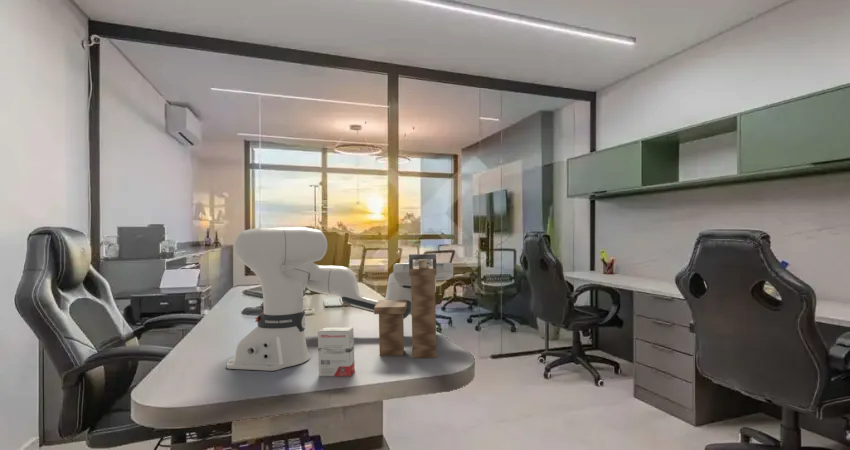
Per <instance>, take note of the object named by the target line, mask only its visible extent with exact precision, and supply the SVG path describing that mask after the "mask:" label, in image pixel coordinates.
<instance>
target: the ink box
mask: <svg viewBox="0 0 850 450" xmlns="http://www.w3.org/2000/svg"><path fill="white" fill-rule="evenodd" d="M354 334H355V333H354V326H353V327H349V326H348V327H323V328H321V329H320V330H318V331H317V351H318V352H317V355H318V357H317V358H318V376H319V377H351V376H352V375H353V373H354V372H355V371H356V369H355V338H354V336H355V335H354Z"/></svg>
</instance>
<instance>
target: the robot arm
mask: <svg viewBox="0 0 850 450" xmlns="http://www.w3.org/2000/svg"><path fill="white" fill-rule="evenodd" d="M325 235H326V234H324V233H323V231H322V230H320V229H317V228H316V229H315V228H312V227H306V226H303V227H302V226H298V227H294V226H293V227H292V226H291V227H289V226H288V227H287V226H285V227H284V226H283V227H276V226H275V227H255V228H251V229H245V230H242V231H241V232H240V233H239V234H238V236H237V237H236V238H235V239H236V240H235V241H234V252H235V256H236V257H237V258H238V260H239V261H240V262H241V264H243V265H245V266H246V267H248V268H249V269H250V270H251V271H252V272H253V273H254V275H255V276H256V277H257V279H258V281H259V283H260V286H261V290H262V292H261V293H262V299H263V303H262V304H263V312H261V313H260V314H259V315H257V316H256V317H255V318H254V319H255V321H254V323H257V326H256V327H255V328H253V330H251V331H250V332H249V333H248V334H246V335H245V336H244V337H243V338H242V339H240V341H238V344H237V346H236V350H235V356H233V357H232V358H230V359H229V360H227V361H226V368H227V369H229V370H230V369H233V370H253V371H272V372H273V371H279V370H281V369H284V368H288V367H293V366H297V365H301V364H303V363H305V362H307V361H309V360H310V358H311V357H310V354H309V350H308V345H307V341H306V333H305V331H306V325H307V324H306V321H307V320H306V312H305V309H304V295H305V294H306V291H305V290H306V288H307V289H308V290H309V291H312V292H315V293H319V294H324V295H330V296H331V295H333V296H337V297H339V298H340V299H341V301H342V302H343V303H344V304H345V305H346V306H349V307H352V308H355V309H359V310H362V311H366V312H370V313H373V314H374V307H375V305H376V304H377V303H378V301H379V300H377V299H373V298H370V297H366V296H363V295H361V293H360V289H359V283H358V279H357V276H356V274H355V273H354V271H353V270H352V269H351V268H349V267H348V266H343V265H334V264H333V265H329V264H328V265H320V264H317V263H316V262H318V261H322V259H323V258H324V257H325V256H326V253H327V251H328V240H327V237H326V236H325ZM413 266H419V260H413ZM427 266H433V260H432V259H427ZM392 269H393V271H392V272H390V273H389V276H388V280H387V285H386V293H385V298H384V300H407V308H406V311H405V314H403V320H405V319H406V318H408V317H409V316H410V314H412V301H411V276H409V262H407V263H406V262H402V263H401V262H399V263H398V262H397V263H394V264H393V268H392ZM436 273H437V275H435V293H436V291H437V281H447V280H448V281H449V280H450V279H451V278H453V277H454V263H452V262H436Z"/></svg>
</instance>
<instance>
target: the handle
mask: <svg viewBox="0 0 850 450" xmlns="http://www.w3.org/2000/svg"><path fill="white" fill-rule="evenodd" d="M420 268H427V259H426V260H419V269H420Z"/></svg>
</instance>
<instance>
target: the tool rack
mask: <svg viewBox="0 0 850 450" xmlns="http://www.w3.org/2000/svg"><path fill="white" fill-rule="evenodd" d="M426 259H431V260H432V262H433V266H427V268H420V269H419V266H413V262H414V261H415V260H426ZM408 263H409V276H411V303H412V304H411V336H412V337H411V343H412V345H411V348H412V353H411V354H412V359H435V358H437V325H436V324H437V317H436V315H437V313H436V309H437V308H436V292H435V275H437V273H436V263H437V254H436V253H415V254H414V253H411V254H410V253H409V254H408ZM406 308H407V300H385V299H379V300H378V303H377V304H376V305H375V307H374V313H373V314H374V315H378V333H379V334H378V337H379V338H378V339H379V341H378V345H379V350H378V351H379V356H380V357H384V356H390V357H391V356H404V353H405V339H404V338H405V336H404V335H405V333H404V332H405V329H404V328H405V326H404V325H405V324H404V319H403V314H405V311H406Z"/></svg>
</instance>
